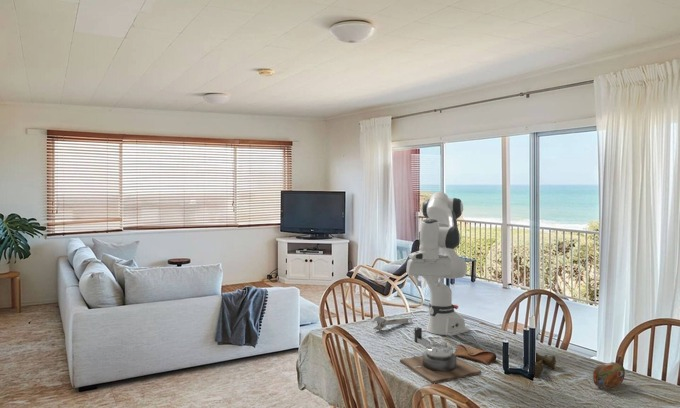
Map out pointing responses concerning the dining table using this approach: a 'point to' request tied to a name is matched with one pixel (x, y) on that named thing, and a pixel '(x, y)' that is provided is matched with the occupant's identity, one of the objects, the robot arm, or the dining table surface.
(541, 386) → the dining table surface
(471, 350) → the sunglasses case
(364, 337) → the dining table surface
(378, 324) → the wrench
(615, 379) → the mottled orange oval
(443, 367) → the square wooden board
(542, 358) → the kendama
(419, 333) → the grey crank handle
